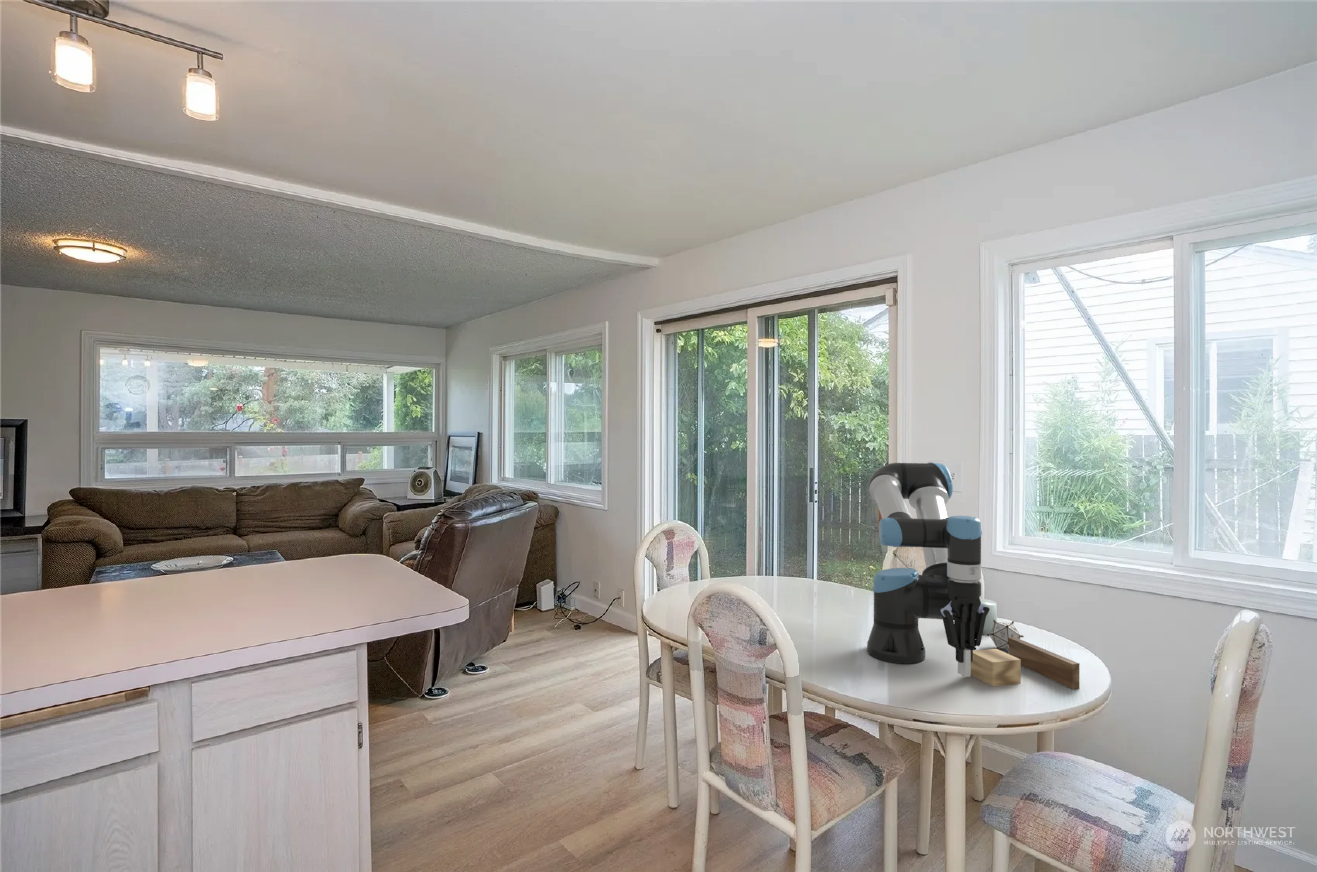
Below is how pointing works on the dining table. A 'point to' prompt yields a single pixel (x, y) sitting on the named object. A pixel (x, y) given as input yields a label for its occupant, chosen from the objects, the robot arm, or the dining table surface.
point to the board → (1045, 662)
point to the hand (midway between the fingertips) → (964, 674)
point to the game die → (1003, 634)
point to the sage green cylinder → (989, 615)
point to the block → (996, 667)
